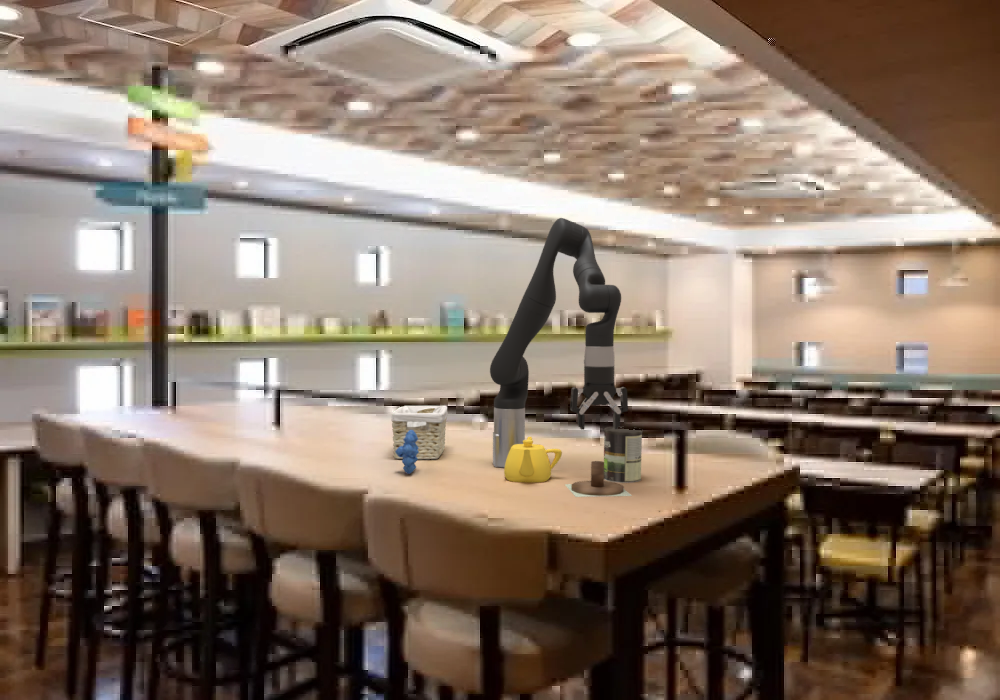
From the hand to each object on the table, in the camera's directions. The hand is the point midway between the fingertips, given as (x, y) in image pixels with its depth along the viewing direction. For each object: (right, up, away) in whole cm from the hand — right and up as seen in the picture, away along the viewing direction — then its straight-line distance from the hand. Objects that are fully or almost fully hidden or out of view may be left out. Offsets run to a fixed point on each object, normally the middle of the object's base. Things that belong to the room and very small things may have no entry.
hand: (598, 428), depth 191 cm
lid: (0, -15, 0) cm, 15 cm away
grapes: (-51, -15, +23) cm, 58 cm away
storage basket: (-50, -14, +54) cm, 75 cm away
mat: (0, -16, +1) cm, 16 cm away
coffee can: (+8, -16, +14) cm, 23 cm away
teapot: (-16, -16, +15) cm, 27 cm away
